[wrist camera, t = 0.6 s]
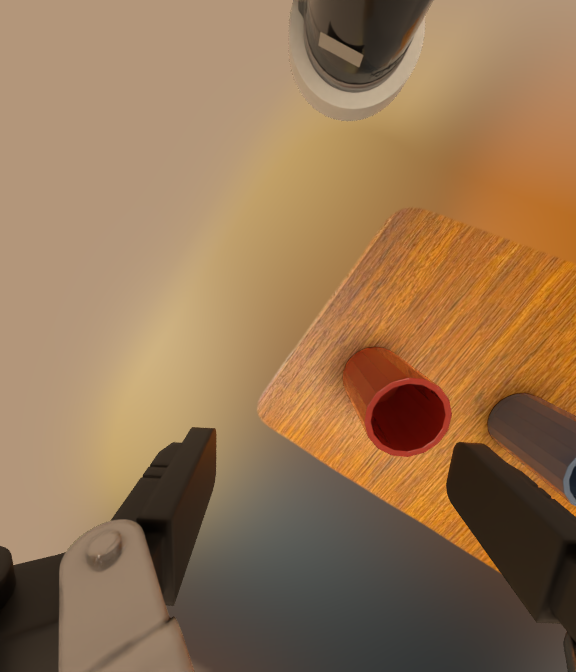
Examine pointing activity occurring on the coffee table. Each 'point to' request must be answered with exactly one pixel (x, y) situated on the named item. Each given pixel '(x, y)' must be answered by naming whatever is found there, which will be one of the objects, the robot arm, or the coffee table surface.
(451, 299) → the coffee table surface
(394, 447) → the red cup
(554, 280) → the coffee table surface
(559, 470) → the blue cup
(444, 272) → the coffee table surface
